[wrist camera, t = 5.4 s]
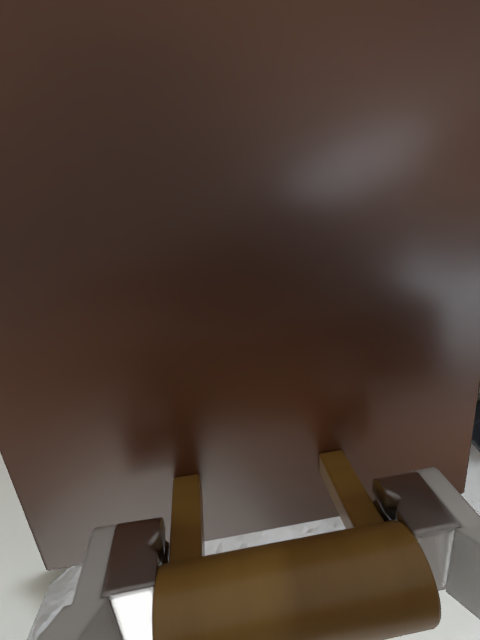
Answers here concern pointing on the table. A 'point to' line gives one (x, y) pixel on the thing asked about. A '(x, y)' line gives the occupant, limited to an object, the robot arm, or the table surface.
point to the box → (476, 428)
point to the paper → (66, 583)
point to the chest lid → (241, 293)
